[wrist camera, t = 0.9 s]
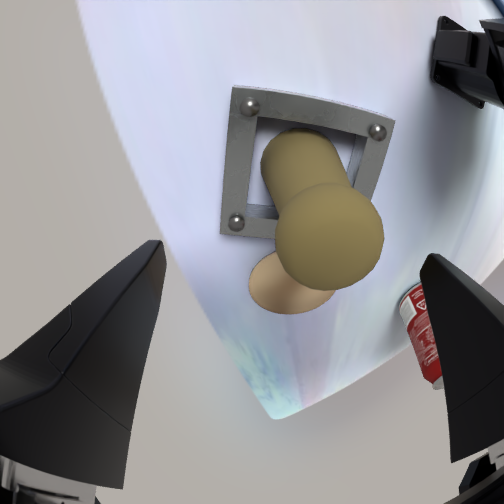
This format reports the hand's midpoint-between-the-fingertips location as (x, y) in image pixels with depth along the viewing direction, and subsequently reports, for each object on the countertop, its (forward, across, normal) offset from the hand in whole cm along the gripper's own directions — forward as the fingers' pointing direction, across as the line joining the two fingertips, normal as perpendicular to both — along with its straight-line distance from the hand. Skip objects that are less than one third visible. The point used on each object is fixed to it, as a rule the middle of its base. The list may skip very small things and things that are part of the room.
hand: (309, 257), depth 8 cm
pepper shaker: (+13, -2, +2) cm, 13 cm away
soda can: (+13, -20, +16) cm, 29 cm away
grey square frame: (+13, -2, +2) cm, 13 cm away
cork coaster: (+13, -3, +14) cm, 19 cm away
